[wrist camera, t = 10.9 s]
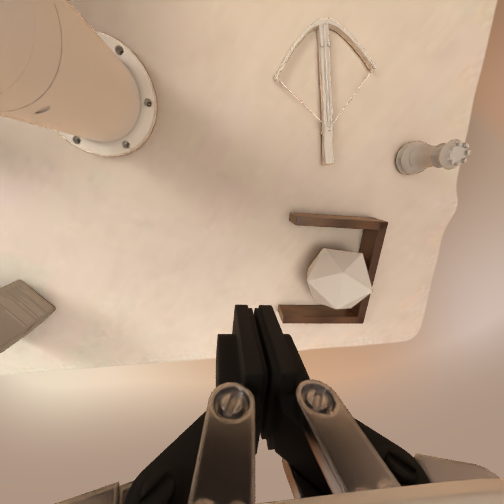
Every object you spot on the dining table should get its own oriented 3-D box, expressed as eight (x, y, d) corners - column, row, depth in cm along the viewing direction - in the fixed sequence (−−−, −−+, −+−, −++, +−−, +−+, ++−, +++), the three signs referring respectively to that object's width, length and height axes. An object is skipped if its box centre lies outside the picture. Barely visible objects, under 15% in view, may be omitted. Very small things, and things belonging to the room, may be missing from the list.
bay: (277, 311, 40) (282, 323, 37) (290, 212, 35) (297, 216, 32) (352, 311, 42) (363, 323, 38) (373, 217, 37) (388, 222, 34)
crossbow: (267, 32, 29) (270, 20, 27) (367, 22, 30) (377, 10, 28) (281, 170, 33) (284, 169, 31) (369, 158, 34) (377, 156, 32)
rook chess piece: (391, 174, 35) (437, 174, 28) (397, 140, 34) (447, 131, 26) (418, 175, 36) (471, 175, 28) (426, 142, 34) (483, 133, 27)
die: (306, 300, 41) (366, 328, 34) (283, 282, 34) (350, 312, 28) (328, 256, 42) (390, 275, 35) (309, 231, 36) (380, 248, 29)
